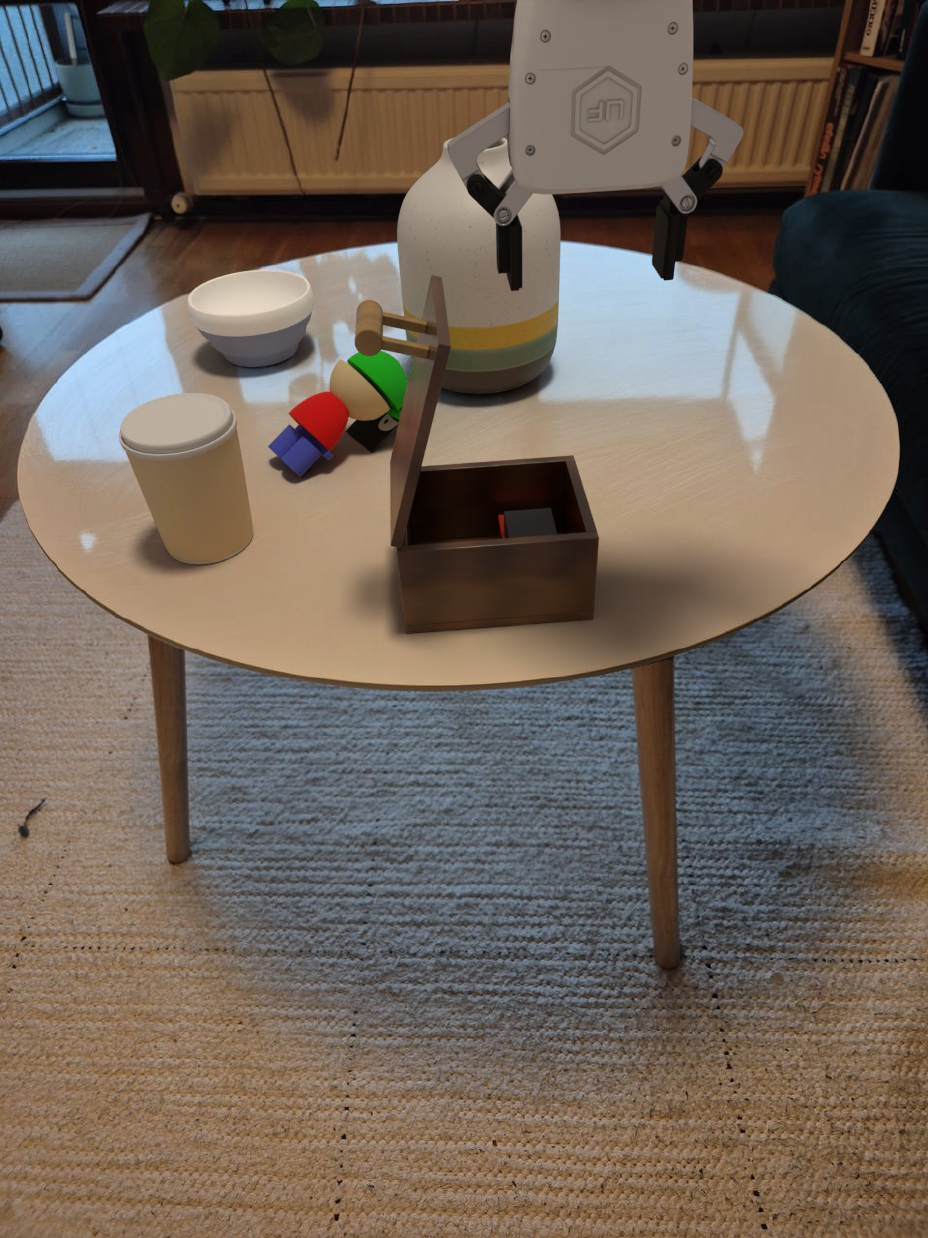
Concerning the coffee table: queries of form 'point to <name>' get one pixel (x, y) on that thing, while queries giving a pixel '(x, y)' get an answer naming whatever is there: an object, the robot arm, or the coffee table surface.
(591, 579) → the chest
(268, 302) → the bowl
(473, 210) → the vase
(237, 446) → the coffee cup
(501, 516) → the car
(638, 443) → the coffee table surface
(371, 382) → the toy
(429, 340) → the lid
